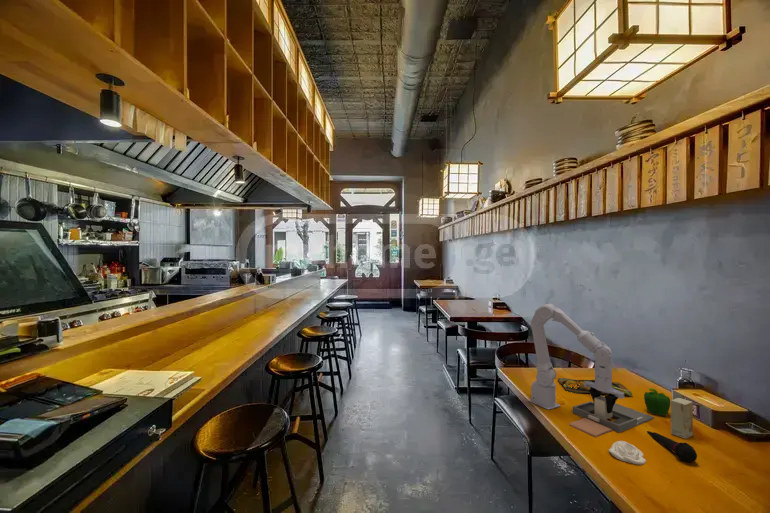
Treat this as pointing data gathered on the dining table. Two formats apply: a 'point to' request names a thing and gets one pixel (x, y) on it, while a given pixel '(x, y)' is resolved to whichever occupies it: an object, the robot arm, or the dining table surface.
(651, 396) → the bell pepper
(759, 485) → the dining table surface
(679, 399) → the skincare box
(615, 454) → the rose
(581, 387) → the prepared meal
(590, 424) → the terracotta tile
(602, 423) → the equipment case
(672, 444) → the microphone
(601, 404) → the block
